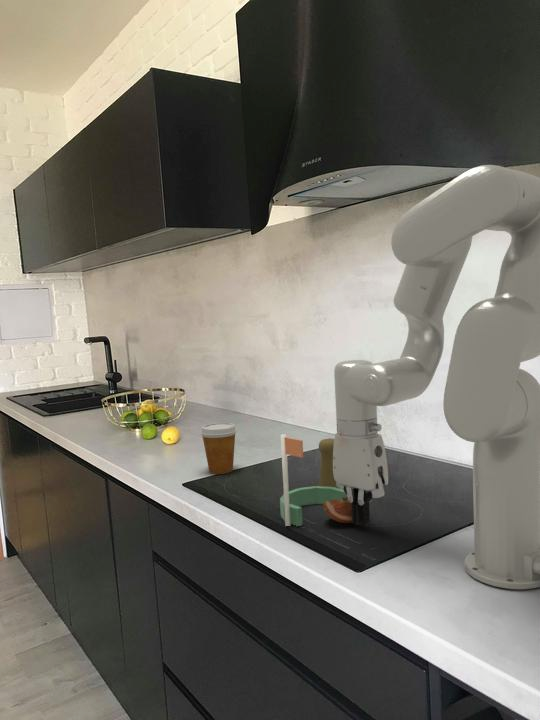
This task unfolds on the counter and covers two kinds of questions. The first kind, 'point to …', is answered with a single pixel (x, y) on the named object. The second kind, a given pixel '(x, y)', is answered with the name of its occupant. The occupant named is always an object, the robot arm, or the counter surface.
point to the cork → (326, 463)
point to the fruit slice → (339, 510)
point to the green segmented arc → (300, 496)
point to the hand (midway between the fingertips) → (361, 522)
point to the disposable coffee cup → (219, 446)
